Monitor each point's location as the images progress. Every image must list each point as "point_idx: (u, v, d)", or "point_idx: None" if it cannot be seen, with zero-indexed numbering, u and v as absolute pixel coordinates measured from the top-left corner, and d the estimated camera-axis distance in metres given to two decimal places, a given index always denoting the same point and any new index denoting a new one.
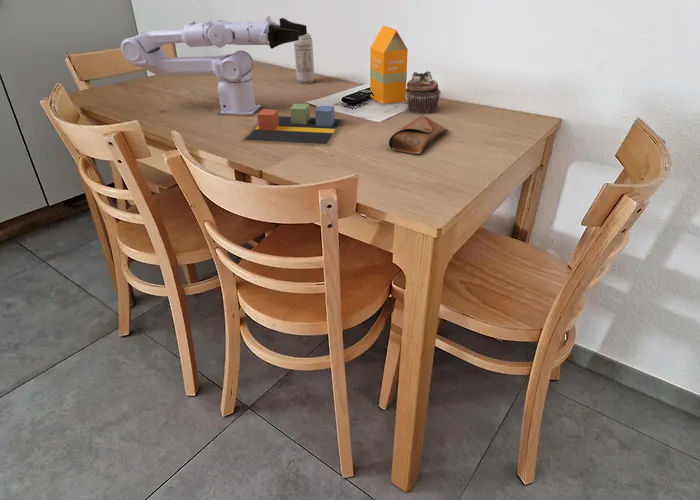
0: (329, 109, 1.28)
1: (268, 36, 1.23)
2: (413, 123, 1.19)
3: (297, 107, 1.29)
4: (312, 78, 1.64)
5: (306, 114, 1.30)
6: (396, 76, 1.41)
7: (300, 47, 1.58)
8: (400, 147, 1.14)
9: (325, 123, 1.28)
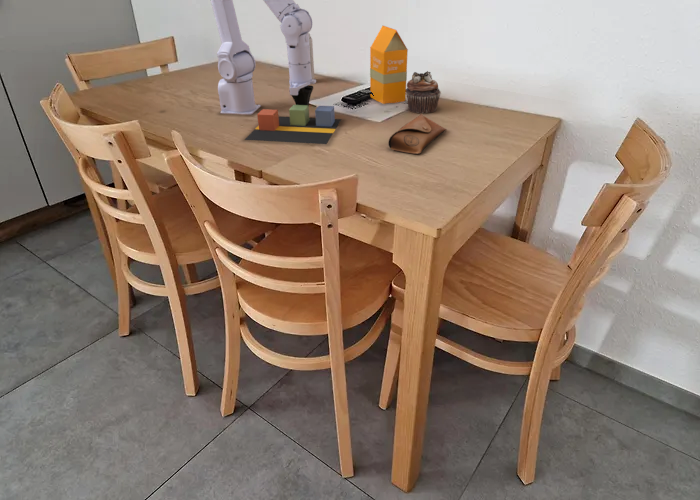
0: (329, 109, 1.28)
1: (299, 91, 1.28)
2: (412, 123, 1.19)
3: (296, 108, 1.29)
4: (312, 78, 1.64)
5: (305, 115, 1.29)
6: (396, 76, 1.41)
7: None
8: (400, 146, 1.14)
9: (325, 123, 1.28)
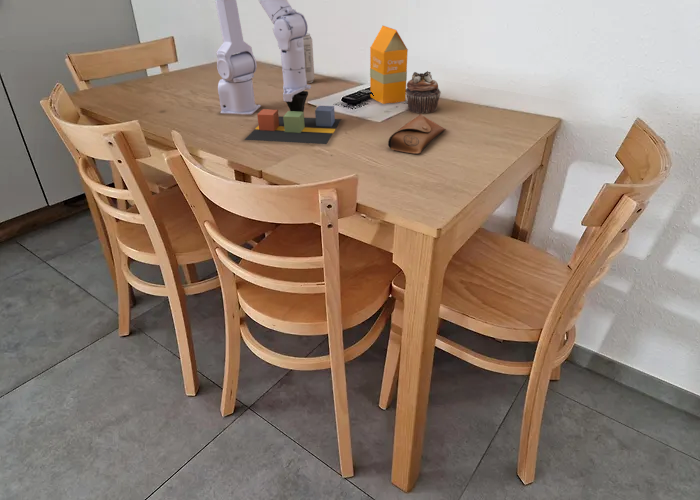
0: (329, 109, 1.28)
1: (293, 97, 1.23)
2: (411, 123, 1.19)
3: (291, 114, 1.24)
4: (312, 78, 1.64)
5: (300, 122, 1.24)
6: (396, 76, 1.41)
7: None
8: (399, 146, 1.14)
9: (325, 123, 1.28)
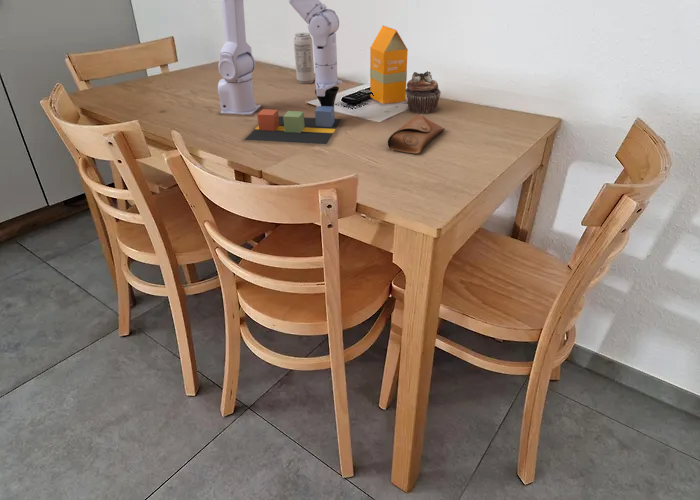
0: (329, 109, 1.27)
1: (325, 92, 1.26)
2: (410, 122, 1.19)
3: (291, 114, 1.24)
4: (312, 78, 1.64)
5: (300, 122, 1.24)
6: (396, 76, 1.41)
7: (300, 47, 1.58)
8: (399, 146, 1.14)
9: (325, 123, 1.28)
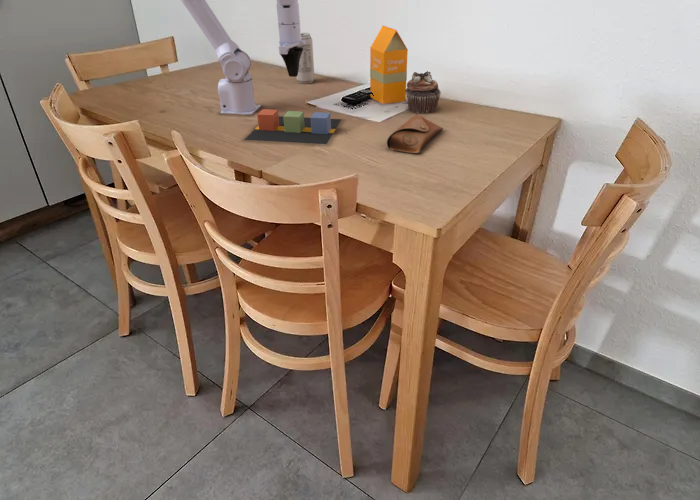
0: (325, 115, 1.23)
1: (289, 51, 1.31)
2: (409, 122, 1.19)
3: (291, 114, 1.24)
4: (312, 78, 1.64)
5: (300, 122, 1.24)
6: (396, 76, 1.41)
7: None
8: (398, 146, 1.14)
9: (321, 130, 1.24)
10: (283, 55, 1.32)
